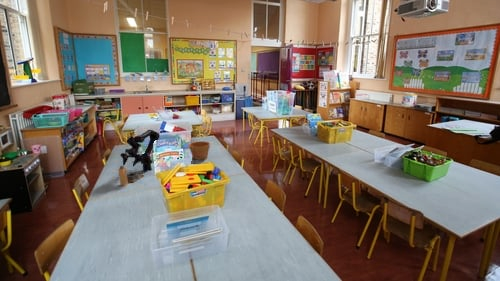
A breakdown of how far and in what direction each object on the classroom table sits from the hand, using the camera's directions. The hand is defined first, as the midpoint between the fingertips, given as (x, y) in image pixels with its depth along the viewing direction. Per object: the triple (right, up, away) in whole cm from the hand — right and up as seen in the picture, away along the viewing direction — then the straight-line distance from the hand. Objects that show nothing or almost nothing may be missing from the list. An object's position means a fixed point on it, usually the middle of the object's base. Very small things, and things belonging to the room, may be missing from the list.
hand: (128, 165), depth 234 cm
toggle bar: (-2, -15, -4) cm, 16 cm away
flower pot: (+50, +3, +59) cm, 77 cm away
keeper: (+1, -12, +7) cm, 14 cm away
